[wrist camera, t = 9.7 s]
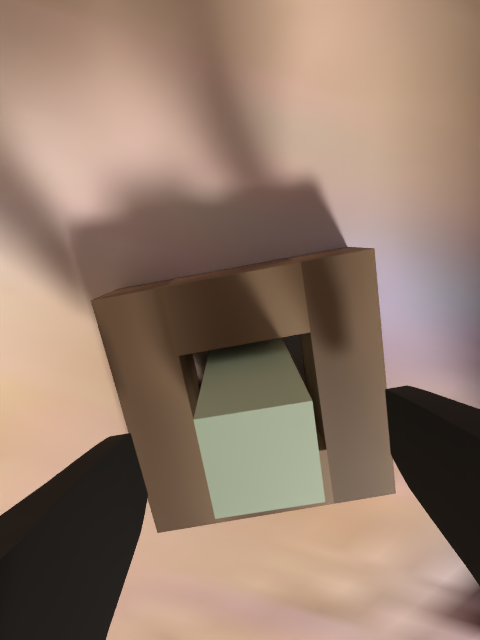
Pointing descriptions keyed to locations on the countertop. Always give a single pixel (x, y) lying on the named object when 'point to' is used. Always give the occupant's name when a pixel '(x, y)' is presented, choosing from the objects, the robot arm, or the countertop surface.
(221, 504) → the sage peg
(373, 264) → the brown square frame
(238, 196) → the countertop surface
